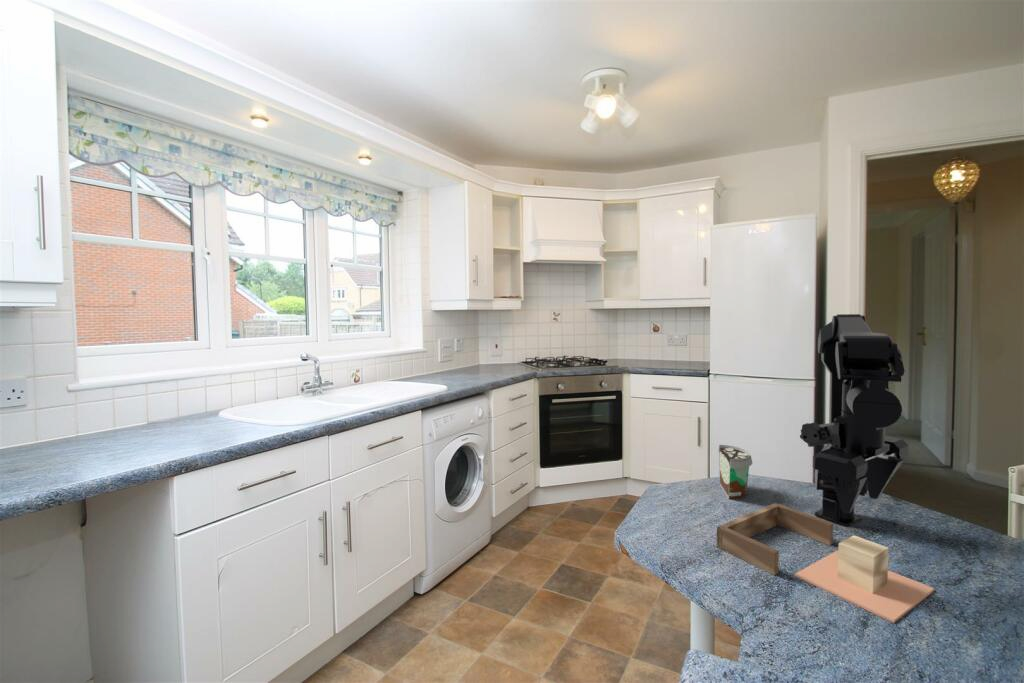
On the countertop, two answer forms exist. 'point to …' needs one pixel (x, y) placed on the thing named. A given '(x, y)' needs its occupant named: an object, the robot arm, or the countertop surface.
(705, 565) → the countertop surface
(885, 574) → the maple block
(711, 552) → the countertop surface
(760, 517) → the open side box
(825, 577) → the mat
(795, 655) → the countertop surface
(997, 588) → the countertop surface
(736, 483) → the food container
